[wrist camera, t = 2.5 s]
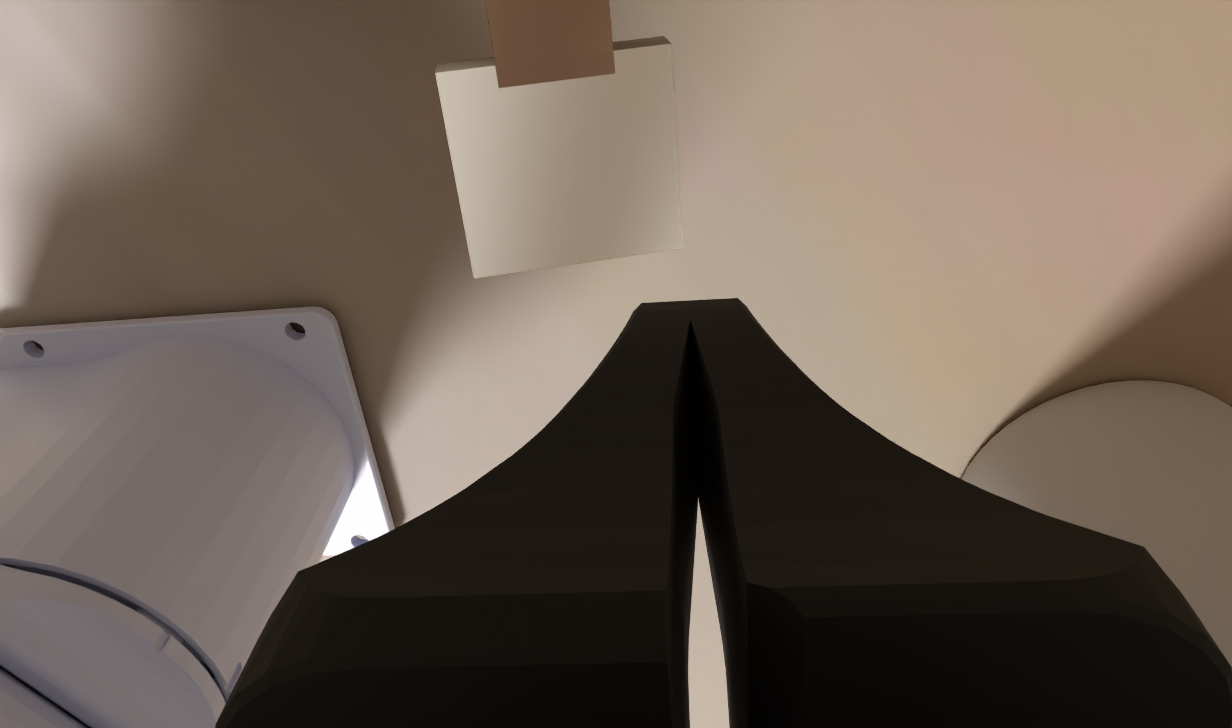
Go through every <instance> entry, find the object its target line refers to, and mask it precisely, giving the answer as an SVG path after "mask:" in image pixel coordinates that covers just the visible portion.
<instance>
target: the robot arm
mask: <svg viewBox="0 0 1232 728" xmlns="http://www.w3.org/2000/svg"><path fill="white" fill-rule="evenodd" d="M291 322H294V323H298V324H300V325H301V326H303V328H304V329H305V333H298V332H296V331H295V330H293V329H292V327H291V325H290V323H291ZM33 341H35V342H37V343H39V344H40V345H41V346H42V347H43V349H44V350H41V349H39V348H37V347H36V346H35V344H34V343H33ZM698 498H699V504H700V511H701V517H702V523H703V529H704V535H705V541H706V547H707V552H708V558H709V564H710V570H711V576H712V582H713V588H714V594H715V600H716V606H717V611H718V617H719V623H720V629H721V635H722V642H723V650H724V659H725V667H726V678H727V693H728V708H729V723H730V728H1232V668H1231V665H1230V664H1229V662H1228V661H1227V659H1226V658H1225V656H1224V655H1223V653H1222V652H1221V650H1220V649H1219V647H1218V646H1217V644H1216V643H1215V641H1214V640H1213V638H1212V637H1211V636H1210V634H1209V633H1208V631H1207V630H1206V628H1205V626H1204V625H1203V623H1202V621H1201V620H1200V619H1199V617H1198V616H1197V614H1196V613H1195V611H1194V610H1193V609H1192V607H1191V606H1190V604H1189V603H1188V601H1187V600H1186V599H1185V597H1184V596H1183V594H1182V593H1181V591H1180V590H1179V589H1178V588H1177V587H1176V585H1175V584H1174V583H1173V582H1172V580H1171V579H1170V578H1169V577H1168V576H1167V574H1166V573H1165V572H1164V571H1163V570H1162V568H1161V567H1160V566H1159V565H1158V563H1157V562H1156V561H1155V560H1154V558H1153V557H1152V556H1151V555H1150V553H1149V552H1148V551H1147V550H1146V548H1145V547H1143V546H1140V545H1137V544H1134V543H1131V542H1128V541H1125V540H1122V539H1119V538H1116V537H1113V536H1109V535H1106V534H1103V533H1100V532H1097V531H1094V530H1091V529H1088V528H1085V527H1082V526H1079V525H1075V524H1072V523H1069V522H1066V521H1063V520H1060V519H1057V518H1054V517H1051V516H1048V515H1045V514H1042V513H1040V512H1037V511H1034V510H1032V509H1029V508H1027V507H1024V506H1022V505H1020V504H1017V503H1015V502H1012V501H1010V500H1007V499H1005V498H1003V497H1000V496H998V495H995V494H993V493H990V492H988V491H986V490H983V489H981V488H979V487H977V486H975V485H973V484H971V483H968V482H966V481H964V480H962V479H960V478H958V477H956V476H953V475H951V474H949V473H948V472H946V471H944V470H942V469H940V468H938V467H936V466H935V465H933V464H931V463H929V462H927V461H925V460H923V459H922V458H920V457H918V456H916V455H914V454H912V453H910V452H909V451H907V450H905V449H904V448H902V447H900V446H899V445H897V444H895V443H894V442H892V441H890V440H889V439H887V438H886V437H884V436H883V435H881V434H880V433H878V432H877V431H875V430H874V429H872V428H871V427H870V426H868V425H867V424H865V423H864V422H862V421H861V420H859V419H858V418H856V417H855V416H853V415H852V414H851V413H849V412H848V411H847V410H845V409H844V408H843V407H842V406H840V405H839V404H838V403H836V402H835V401H834V400H833V399H832V398H831V397H829V396H828V395H827V394H826V393H825V392H824V391H822V390H821V389H820V388H819V387H818V386H817V385H816V384H815V383H814V382H813V381H812V380H811V379H810V378H808V377H807V376H806V375H805V374H804V373H803V372H802V371H801V370H800V369H799V367H798V366H797V365H796V364H795V363H794V362H793V361H792V360H791V359H790V358H789V357H788V356H787V355H786V354H785V353H784V352H783V351H782V350H781V349H780V348H779V347H778V345H777V344H776V343H775V342H774V341H773V340H772V339H771V337H770V336H769V335H768V334H767V333H766V331H765V330H764V329H763V328H762V327H761V325H760V324H759V323H758V322H757V320H756V319H755V318H754V316H753V315H752V314H751V312H750V311H749V309H748V308H747V306H746V305H744V304H743V303H742V302H741V301H740V300H739V299H738V298H732V299H712V300H693V301H674V302H654V303H641V304H640V305H639V306H638V307H637V308H636V309H635V310H634V311H633V313H632V315H631V317H630V319H629V321H628V322H627V324H626V326H625V328H624V329H623V331H622V332H621V334H620V336H619V337H618V339H617V340H616V342H615V343H614V345H613V346H612V348H611V349H610V351H609V352H608V353H607V355H606V356H605V357H604V359H603V360H602V361H601V363H600V364H599V365H598V367H597V368H596V369H595V371H594V372H593V373H592V375H591V376H590V377H589V379H588V380H587V381H586V382H585V384H584V385H583V386H582V387H581V388H580V389H579V390H578V392H577V393H576V394H575V395H574V396H573V397H572V398H571V400H570V401H569V402H568V403H567V404H566V405H565V406H564V407H563V409H562V410H561V411H560V412H559V413H558V414H557V415H556V416H555V417H554V418H553V419H552V420H551V421H550V422H549V423H548V424H547V425H546V426H545V427H544V428H543V429H542V430H541V431H540V432H539V433H538V434H537V435H536V436H535V437H533V438H532V439H531V440H530V441H529V442H528V443H527V444H525V445H524V446H523V447H522V448H521V449H519V450H518V451H517V452H516V453H515V454H513V455H512V456H511V457H509V458H508V459H506V460H505V461H504V462H502V463H501V464H499V465H498V466H497V467H495V468H494V469H492V470H491V471H489V472H488V473H487V474H485V475H484V476H482V477H481V478H480V479H478V480H477V481H475V482H474V483H473V484H471V485H470V486H468V487H467V488H466V489H464V490H462V491H461V492H459V493H458V494H456V495H454V496H453V497H451V498H449V499H448V500H446V501H444V502H443V503H441V504H439V505H438V506H436V507H434V508H433V509H431V510H429V511H427V512H425V513H424V514H422V515H420V516H418V517H416V518H414V519H412V520H411V521H409V522H407V523H405V524H403V525H401V526H399V527H397V528H395V527H394V523H393V520H392V516H391V512H390V509H389V505H388V502H387V498H386V494H385V491H384V487H383V484H382V480H381V477H380V473H379V469H378V466H377V462H376V459H375V455H374V452H373V448H372V444H371V441H370V437H369V434H368V430H367V426H366V423H365V419H364V416H363V412H362V409H361V405H360V401H359V398H358V394H357V391H356V387H355V383H354V380H353V376H352V373H351V369H350V366H349V362H348V358H347V355H346V351H345V348H344V344H343V341H342V337H341V333H340V330H339V326H338V323H337V321H336V319H335V317H334V315H333V314H332V313H330V312H329V311H328V310H326V309H324V308H322V307H314V306H313V307H298V308H284V309H270V310H256V311H242V312H227V313H213V314H199V315H185V316H171V317H156V318H142V319H128V320H114V321H100V322H85V323H71V324H57V325H43V326H29V327H14V328H0V728H690V720H689V690H688V644H689V626H690V611H691V596H692V582H693V567H694V553H695V538H696V523H697V507H698ZM356 535H362V536H364V537H366V538H367V539H366V540H364V539H360V538H358V537H357V536H356ZM326 555H336V556H334V557H332V558H329V559H327V560H325V561H322V562H320V560H321V558H322V556H326ZM319 562H320V563H319Z"/></svg>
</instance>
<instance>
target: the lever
mask: <svg viewBox="0 0 1232 728" xmlns="http://www.w3.org/2000/svg"><path fill="white" fill-rule="evenodd" d="M485 3H486V10H487V16H488V23H489V29H490V36H491V42H492V48H493V55H494V57H490V58H482V59H474V60H466V61H458V62H450V63H442V64H436V71H435V75H436V80H437V86H438V91H439V96H440V102H441V107H442V112H443V118H444V123H445V128H446V133H447V139H448V144H449V149H450V155H451V160H452V165H453V171H454V176H455V181H456V187H457V192H458V197H459V203H460V208H461V213H462V218H463V224H464V229H465V234H466V240H467V245H468V250H469V256H470V261H471V266H472V272H473V277H474V278H481V277H488V276H495V275H502V274H509V273H516V272H523V271H530V270H537V269H544V268H551V267H558V266H565V265H572V264H579V263H586V262H593V261H600V260H607V259H614V258H621V257H628V256H635V255H642V254H649V253H656V252H663V251H670V250H677V249H684V247H683V230H682V213H681V196H680V179H679V162H678V145H677V128H676V111H675V94H674V77H673V60H672V43H670V42H669V41H668V40H667V39H666V38H665V37H664V36H660V37H652V38H644V39H636V40H628V41H619V42H613V41H612V30H611V19H610V8H609V0H485Z"/></svg>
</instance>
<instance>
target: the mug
mask: <svg viewBox="0 0 1232 728" xmlns="http://www.w3.org/2000/svg"><path fill="white" fill-rule="evenodd" d="M961 479H962V480H964V481H966V482H968V483H971V484H973V485H975V486H977V487H979V488H981V489H983V490H986V491H988V492H990V493H993V494H995V495H998V496H1000V497H1003V498H1005V499H1007V500H1010V501H1012V502H1015V503H1017V504H1020V505H1022V506H1024V507H1027V508H1029V509H1032V510H1034V511H1037V512H1040V513H1042V514H1045V515H1048V516H1051V517H1054V518H1057V519H1060V520H1063V521H1066V522H1069V523H1072V524H1075V525H1079V526H1082V527H1085V528H1088V529H1091V530H1094V531H1097V532H1100V533H1103V534H1106V535H1109V536H1113V537H1116V538H1119V539H1122V540H1125V541H1128V542H1131V543H1134V544H1137V545H1140V546H1143V547H1145V548H1146V550H1147V551H1148V552H1149V553H1150V555H1151V556H1152V557H1153V558H1154V560H1155V561H1156V562H1157V563H1158V565H1159V566H1160V567H1161V568H1162V570H1163V571H1164V572H1165V573H1166V574H1167V576H1168V577H1169V578H1170V579H1171V580H1172V582H1173V583H1174V584H1175V585H1176V587H1177V588H1178V589H1179V590H1180V591H1181V593H1182V594H1183V596H1184V597H1185V599H1186V600H1187V601H1188V603H1189V604H1190V606H1191V607H1192V609H1193V610H1194V611H1195V613H1196V614H1197V616H1198V617H1199V619H1200V620H1201V621H1202V623H1203V625H1204V626H1205V628H1206V630H1207V631H1208V633H1209V634H1210V636H1211V637H1212V638H1213V640H1214V641H1215V643H1216V644H1217V646H1218V647H1219V649H1220V650H1221V652H1222V653H1223V655H1224V656H1225V658H1226V659H1227V661H1228V662H1229V664H1230V665H1231V668H1232V407H1231V406H1230V405H1228V404H1226V403H1225V402H1223V401H1221V400H1219V399H1218V398H1216V397H1214V396H1212V395H1210V394H1207V393H1205V392H1202V391H1200V390H1197V389H1195V388H1192V387H1188V386H1184V385H1180V384H1176V383H1171V382H1162V381H1153V380H1130V381H1120V382H1111V383H1104V384H1099V385H1094V386H1089V387H1085V388H1082V389H1078V390H1075V391H1072V392H1069V393H1066V394H1063V395H1061V396H1058V397H1056V398H1054V399H1051V400H1049V401H1047V402H1044V403H1042V404H1040V405H1039V406H1037V407H1035V408H1033V409H1031V410H1029V411H1028V412H1026V413H1024V414H1023V415H1021V416H1020V417H1018V418H1017V419H1015V420H1014V421H1012V422H1011V423H1009V424H1008V425H1007V426H1005V427H1004V428H1003V429H1002V430H1001V431H1000V432H998V433H997V434H996V435H995V436H994V437H992V438H991V440H990V441H989V442H988V443H987V444H986V445H985V446H984V447H983V448H982V449H981V450H980V451H979V452H978V454H977V455H976V456H975V458H974V459H973V460H972V462H971V463H970V464H969V466H968V467H967V469H966V471H965V473H964V474H963V476H962V478H961Z"/></svg>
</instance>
